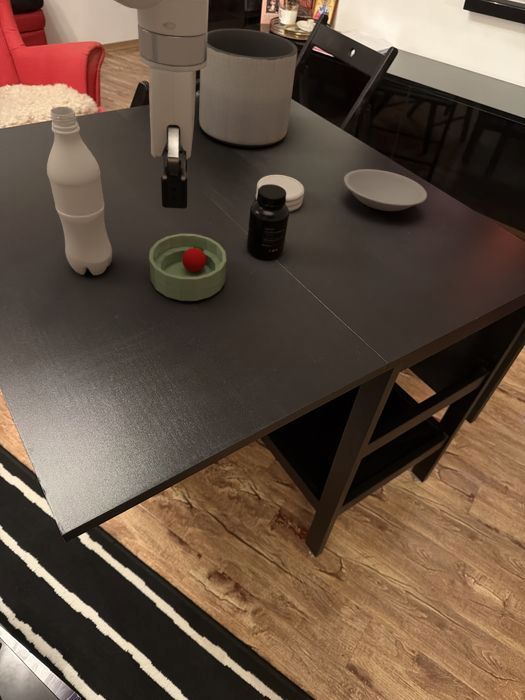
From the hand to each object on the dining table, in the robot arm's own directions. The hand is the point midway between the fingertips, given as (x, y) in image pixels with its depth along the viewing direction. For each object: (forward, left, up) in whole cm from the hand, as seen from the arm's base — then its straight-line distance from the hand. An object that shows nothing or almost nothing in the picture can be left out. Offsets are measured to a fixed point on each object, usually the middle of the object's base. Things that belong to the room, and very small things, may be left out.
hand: (175, 188), depth 66 cm
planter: (+16, +63, -18) cm, 68 cm away
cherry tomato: (+2, +3, -16) cm, 17 cm away
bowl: (+2, +2, -18) cm, 18 cm away
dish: (+43, +28, -18) cm, 54 cm away
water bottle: (-14, +5, -18) cm, 24 cm away
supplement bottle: (+16, +11, -18) cm, 26 cm away
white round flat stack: (+21, +29, -18) cm, 40 cm away
